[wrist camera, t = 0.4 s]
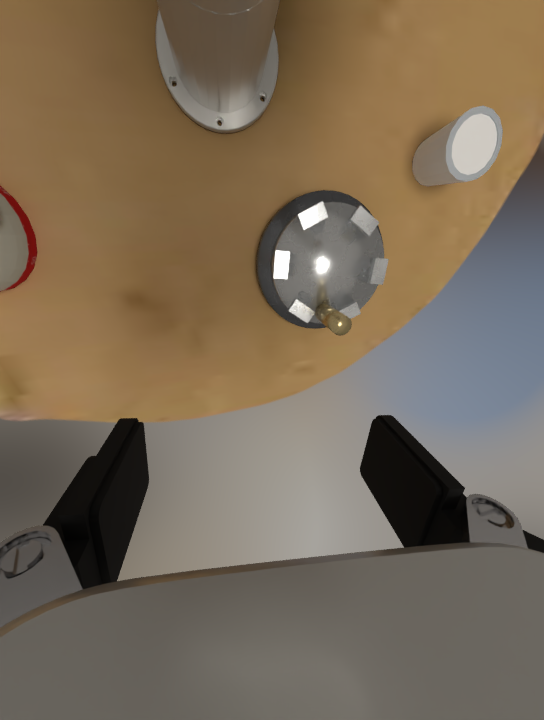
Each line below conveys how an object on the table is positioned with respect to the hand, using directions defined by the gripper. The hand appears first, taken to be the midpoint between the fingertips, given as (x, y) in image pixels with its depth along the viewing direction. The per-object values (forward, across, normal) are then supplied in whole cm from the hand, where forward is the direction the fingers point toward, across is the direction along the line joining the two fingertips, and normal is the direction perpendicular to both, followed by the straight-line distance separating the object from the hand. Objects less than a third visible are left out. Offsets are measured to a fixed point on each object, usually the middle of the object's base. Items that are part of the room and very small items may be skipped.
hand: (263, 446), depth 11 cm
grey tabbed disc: (+29, -12, -6) cm, 32 cm away
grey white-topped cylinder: (+31, -25, -21) cm, 45 cm away
